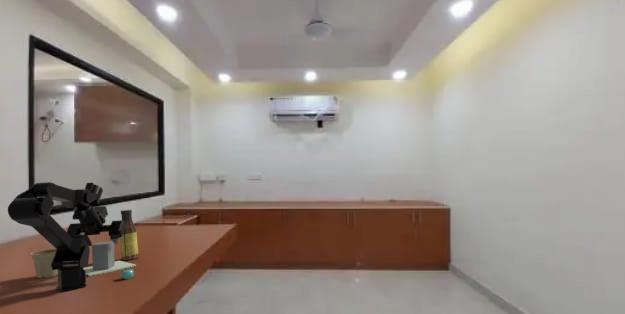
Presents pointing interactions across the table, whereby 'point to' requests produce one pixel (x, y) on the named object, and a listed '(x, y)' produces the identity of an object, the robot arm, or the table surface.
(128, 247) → the sauce bottle
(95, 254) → the grey rectangular block
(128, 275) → the ball
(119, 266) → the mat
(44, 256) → the flower pot
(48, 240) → the robot arm
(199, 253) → the table surface
